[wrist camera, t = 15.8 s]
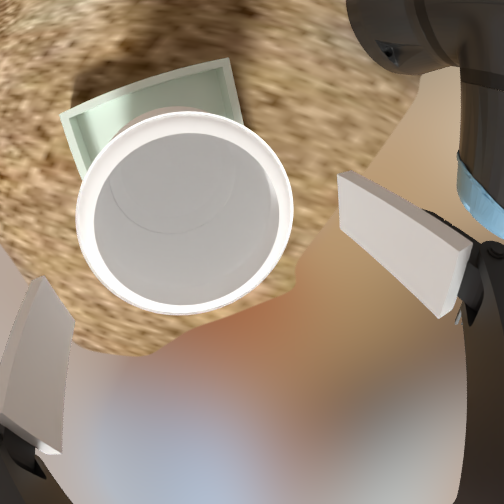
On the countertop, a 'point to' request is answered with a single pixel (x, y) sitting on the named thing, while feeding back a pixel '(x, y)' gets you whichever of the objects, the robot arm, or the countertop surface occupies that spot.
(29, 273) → the countertop surface
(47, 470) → the robot arm
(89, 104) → the tray
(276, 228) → the jar
